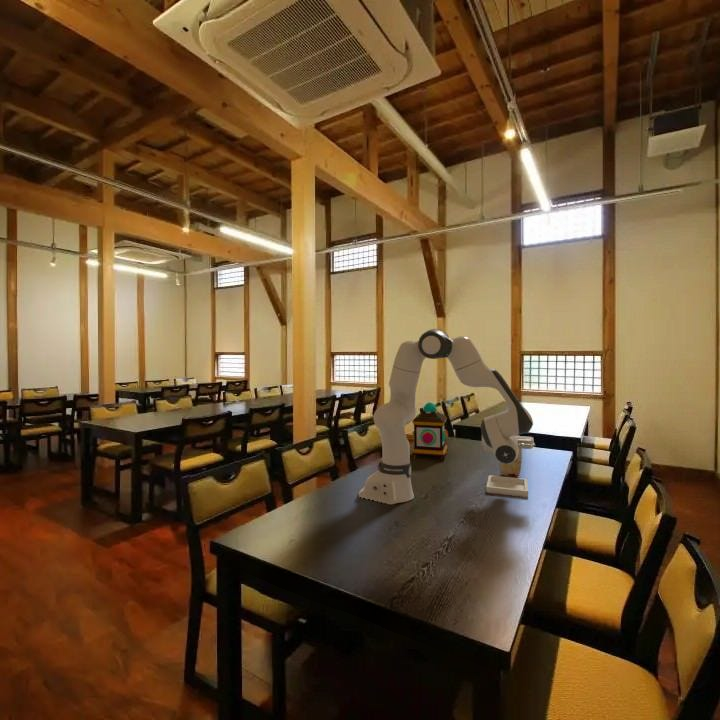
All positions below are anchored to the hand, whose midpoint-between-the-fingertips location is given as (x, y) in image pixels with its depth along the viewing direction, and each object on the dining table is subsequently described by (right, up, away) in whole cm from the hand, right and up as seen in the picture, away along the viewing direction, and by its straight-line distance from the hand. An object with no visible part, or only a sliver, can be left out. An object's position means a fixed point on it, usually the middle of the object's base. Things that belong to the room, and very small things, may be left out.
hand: (507, 437), depth 172 cm
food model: (+7, -22, +16) cm, 28 cm away
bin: (0, -22, 0) cm, 22 cm away
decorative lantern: (-24, -21, +52) cm, 61 cm away
